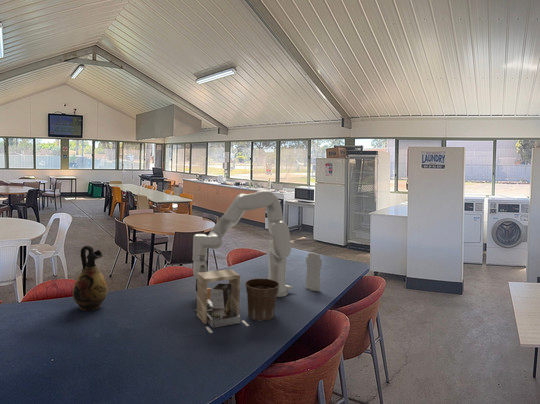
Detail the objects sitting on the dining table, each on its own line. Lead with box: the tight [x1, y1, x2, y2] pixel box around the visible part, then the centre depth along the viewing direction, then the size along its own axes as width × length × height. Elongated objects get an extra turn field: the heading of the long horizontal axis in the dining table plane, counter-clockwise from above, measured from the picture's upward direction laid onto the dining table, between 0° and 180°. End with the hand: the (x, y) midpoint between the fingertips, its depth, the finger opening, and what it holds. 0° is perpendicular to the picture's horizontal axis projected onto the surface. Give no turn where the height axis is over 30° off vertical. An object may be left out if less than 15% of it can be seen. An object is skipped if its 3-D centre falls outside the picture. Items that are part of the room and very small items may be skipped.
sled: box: [207, 287, 242, 329], centre depth 182 cm, size 13×33×6 cm, turn 28°
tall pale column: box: [305, 252, 323, 292], centre depth 221 cm, size 11×4×22 cm, turn 51°
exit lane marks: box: [205, 320, 250, 334], centre depth 167 cm, size 18×6×1 cm, turn 118°
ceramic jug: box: [72, 244, 108, 312], centre depth 184 cm, size 17×15×30 cm
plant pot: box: [244, 277, 280, 322], centre depth 179 cm, size 16×16×16 cm
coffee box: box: [211, 283, 232, 320], centre depth 173 cm, size 9×6×16 cm
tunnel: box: [196, 268, 241, 325], centre depth 177 cm, size 17×11×20 cm, turn 118°
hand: (199, 290), depth 203 cm, fingers closed
